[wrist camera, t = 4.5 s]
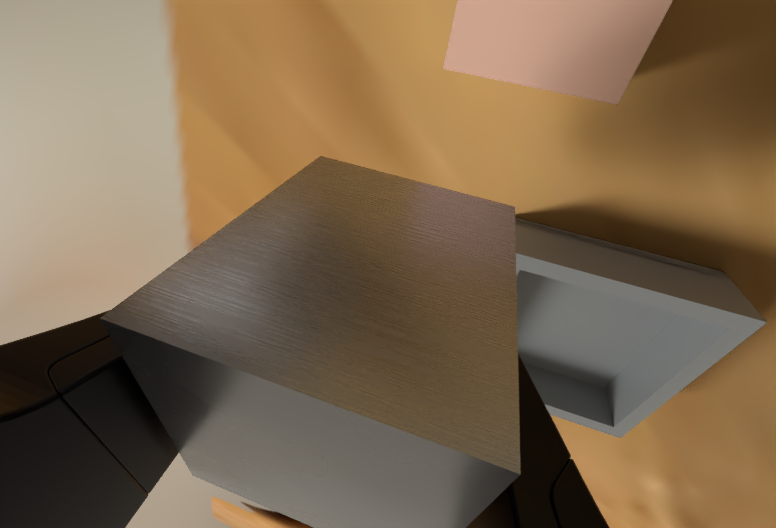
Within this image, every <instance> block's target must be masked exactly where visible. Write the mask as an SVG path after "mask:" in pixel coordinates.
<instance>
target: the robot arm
mask: <svg viewBox="0 0 776 528" xmlns="http://www.w3.org/2000/svg"><path fill="white" fill-rule="evenodd" d="M109 311H110V310H109ZM109 311H106V312H103V313H101V314H98V315H95V316H92V317H89V318H86V319H84V320H81V321H77V322H74V323H71V324H68V325H65V326H62V327H59V328H56V329H52V330H49V331H46V332H43V333H39V334H36V335H33V336H30V337H27V338H23V339H20V340H17V341H13V342H10V343H7V344H4V345H0V528H125V527H126V526H127V524H128V523H129V522H130V520H131V519H132V517H133V516H134V514H135V513H136V512H137V510H138V509H139V508H140V506H141V505H142V503H143V502H144V501H145V499H146V498H147V496H148V493H150V492H151V490H152V489H153V488H154V486H155V485H156V483H157V482H158V481H159V479H160V478H161V477H162V475H163V473H164V472H165V471H166V470H167V468H168V467H169V465H170V464H171V463H172V461H173V460H174V458H175V457H176V456H177V454H178V453H179V451H178V449H177V448H176V446H175V444H174V443H173V441H172V439H171V438H170V436H169V434H168V433H167V431H166V429H165V428H164V426H163V424H162V423H161V421H160V419H159V417H158V416H157V414H156V412H155V411H154V409H153V407H152V406H151V404H150V402H149V401H148V399H147V397H146V396H145V394H144V392H143V390H142V389H141V387H140V385H139V384H138V382H137V380H136V379H135V377H134V375H133V374H132V372H131V370H130V369H129V367H128V365H127V363H126V362H125V360H124V358H123V357H122V355H121V353H120V352H119V350H118V348H117V347H116V345H115V343H114V342H113V340H112V338H111V337H110V335H109V333H108V331H107V330H106V328H105V326H104V325H103V323H102V321H101V320H100V318H101V317H102V316H103V315H105V314H106V313H107V312H109ZM518 377H519V424H520V471H521V475H520V476H519V477H517V478H516V479H515V480H514V481H513V482H512V483H511V484H510V485H509V486H508V487H507V488H506V489H505V490H504V491H503V492H502V493H501V494H500V495H499V496H498V497H497V498H496V499H495V500H494V501H493V502H492V503H491V504H490V505H489V506H487V507H486V508H485V509H484V510H483V511H482V512H481V513H480V514H479V515H478V516H477V517H476V518H475V519H474V520H473V521H472V522H471V523H470V524H469V525H468V526H467V527H466V528H609V526H608V524H607V522H606V521H605V519H604V517H603V516H602V514H601V512H600V510H599V508H598V506H597V505H596V503H595V501H594V499H593V497H592V495H591V493H590V492H589V490H588V488H587V486H586V484H585V482H584V480H583V478H582V476H581V474H580V472H579V470H578V468H577V467H576V465H575V463H574V461H573V460H572V459H570V457H571V455H570V453H569V451H568V449H567V447H566V445H565V443H564V441H563V439H562V437H561V435H560V433H559V431H558V429H557V428H556V426H555V424H554V422H553V420H552V418H551V416H550V414H549V412H548V410H547V408H546V406H545V404H544V402H543V400H542V398H541V396H540V394H539V392H538V390H537V388H536V386H535V384H534V382H533V380H532V378H531V376H530V374H529V372H528V370H527V368H526V366H525V365H524V363H523V361H522V359H521V357H520V355H519V353H518Z"/></svg>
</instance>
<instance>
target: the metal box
mask: <svg viewBox="0 0 776 528" xmlns="http://www.w3.org/2000/svg"><path fill="white" fill-rule="evenodd" d="M100 320H101V321H102V323H103V325H104V326H105V328H106V330H107V331H108V333H109V335H110V337H111V338H112V340H113V342H114V343H115V345H116V347H117V348H118V350H119V352H120V353H121V355H122V357H123V358H124V360H125V362H126V363H127V365H128V367H129V369H130V370H131V372H132V374H133V375H134V377H135V379H136V380H137V382H138V384H139V385H140V387H141V389H142V390H143V392H144V394H145V396H146V397H147V399H148V401H149V402H150V404H151V406H152V407H153V409H154V411H155V412H156V414H157V416H158V417H159V419H160V421H161V423H162V424H163V426H164V428H165V429H166V431H167V433H168V434H169V436H170V438H171V439H172V441H173V443H174V444H175V446H176V448H177V449H178V451H179V453H180V454H181V456H182V458H183V460H184V461H185V463H186V465H187V466H188V468H189V470H190V471H191V473H192V475H193V476H196V477H198V478H200V479H202V480H205V481H207V482H209V483H212V484H214V485H216V486H219V487H221V488H223V489H226V490H228V491H230V492H233V493H235V494H237V495H240V496H242V497H244V498H247V499H249V500H251V501H254V502H256V503H258V504H261V505H263V506H265V507H268V508H270V509H272V510H274V511H277V512H279V513H281V514H284V515H286V516H288V517H291V518H293V519H295V520H298V521H300V522H302V523H305V524H307V525H309V526H312V527H314V528H466V527H467V526H468V525H469V524H470V523H471V522H472V521H473V520H474V519H475V518H476V517H477V516H478V515H479V514H480V513H481V512H482V511H483V510H484V509H485V508H486V507H487V506H489V505H490V504H491V503H492V502H493V501H494V500H495V499H496V498H497V497H498V496H499V495H500V494H501V493H502V492H503V491H504V490H505V489H506V488H507V487H508V486H509V485H510V484H511V483H512V482H513V481H514V480H515V479H516V478H517V477H519V476H520V475H521V471H520V424H519V377H518V329H517V282H516V234H515V207H513V206H509V205H506V204H502V203H498V202H494V201H490V200H487V199H483V198H479V197H475V196H471V195H468V194H464V193H460V192H456V191H452V190H448V189H445V188H441V187H437V186H433V185H429V184H426V183H422V182H418V181H414V180H410V179H407V178H403V177H399V176H395V175H391V174H387V173H384V172H380V171H376V170H372V169H368V168H365V167H361V166H357V165H353V164H349V163H346V162H342V161H338V160H334V159H330V158H326V157H323V156H320V157H319V158H317V159H316V160H315V161H313V162H312V163H310V164H309V165H308V166H306V167H305V168H304V169H302V170H301V171H300V172H298V173H297V174H295V175H294V176H293V177H291V178H290V179H289V180H287V181H286V182H285V183H283V184H282V185H280V186H279V187H278V188H276V189H275V190H274V191H272V192H271V193H270V194H268V195H267V196H265V197H264V198H263V199H261V200H260V201H259V202H257V203H256V204H255V205H253V206H252V207H250V208H249V209H248V210H246V211H245V212H244V213H242V214H241V215H240V216H238V217H237V218H236V219H234V220H233V221H231V222H230V223H229V224H227V225H226V226H225V227H223V228H222V229H221V230H219V231H218V232H216V233H215V234H214V235H212V236H211V237H210V238H208V239H207V240H206V241H204V242H203V243H201V244H200V245H199V246H197V247H196V248H195V249H193V250H192V251H191V252H189V253H188V254H186V255H185V256H184V257H182V258H181V259H180V260H178V261H177V262H176V263H174V264H173V265H171V266H170V267H169V268H167V269H166V270H165V271H163V272H162V273H161V274H159V275H158V276H157V277H155V278H154V279H153V280H151V281H150V282H148V283H147V284H146V285H144V286H143V287H141V288H140V289H139V290H137V291H136V292H135V293H133V294H132V295H131V296H129V297H128V298H127V299H125V300H124V301H122V302H121V303H120V304H118V305H117V306H116V307H114V308H113V309H112V310H110V311H109V312H107V313H106V314H105V315H103V316H102V317H101V318H100Z"/></svg>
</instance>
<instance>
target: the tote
mask: <svg viewBox="0 0 776 528" xmlns="http://www.w3.org/2000/svg"><path fill="white" fill-rule="evenodd" d="M515 234H516V282H517V329H518V353H519V355H520V357H521V359H522V361H523V363H524V365H525V366H526V368H527V370H528V372H529V374H530V376H531V378H532V380H533V382H534V384H535V386H536V388H537V390H538V392H539V394H540V396H541V398H542V400H543V402H544V404H545V406H546V408H547V410H548V412H549V414H550V415H553V416H556V417H559V418H562V419H565V420H568V421H571V422H574V423H577V424H580V425H583V426H586V427H589V428H592V429H595V430H598V431H601V432H604V433H607V434H610V435H613V436H616V437H619V438H621V437H622V436H623V435H625V434H626V433H627V432H628V431H630V430H631V429H632V428H634V427H635V426H636V425H637V424H639V423H640V422H641V421H642V420H644V419H645V418H646V417H648V416H649V415H650V414H651V413H653V412H654V411H655V410H656V409H658V408H659V407H660V406H662V405H663V404H664V403H665V402H667V401H668V400H669V399H670V398H672V397H673V396H674V395H675V394H677V393H678V392H679V391H681V390H682V389H683V388H684V387H686V386H687V385H688V384H689V383H691V382H692V381H693V380H695V379H696V378H697V377H698V376H700V375H701V374H702V373H703V372H705V371H706V370H707V369H709V368H710V367H711V366H712V365H714V364H715V363H716V362H717V361H719V360H720V359H721V358H722V357H724V356H725V355H726V354H728V353H729V352H730V351H731V350H733V349H734V348H735V347H736V346H738V345H739V344H740V343H742V342H743V341H744V340H745V339H747V338H748V337H749V336H750V335H752V334H753V333H754V332H756V331H757V330H758V329H759V328H761V327H762V326H763V325H764V324H766V323H767V321H766V320H765V319H764V318H763V317H762V315H761V314H760V313H759V312H758V311H757V310H756V308H755V307H754V306H753V305H752V304H751V302H750V301H749V300H748V299H747V298H746V297H745V295H744V294H743V293H742V292H741V291H740V289H739V288H738V287H737V286H736V285H735V284H734V282H733V281H732V280H731V279H730V278H729V276H728V275H727V274H726V273H725V272H723V271H719V270H715V269H711V268H707V267H704V266H700V265H696V264H692V263H688V262H684V261H681V260H677V259H673V258H669V257H665V256H661V255H657V254H654V253H650V252H646V251H642V250H638V249H634V248H631V247H627V246H623V245H619V244H615V243H611V242H608V241H604V240H600V239H596V238H592V237H588V236H584V235H581V234H577V233H573V232H569V231H565V230H561V229H558V228H554V227H550V226H546V225H542V224H538V223H534V222H531V221H527V220H523V219H519V218H515Z"/></svg>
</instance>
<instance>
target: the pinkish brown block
mask: <svg viewBox="0 0 776 528" xmlns="http://www.w3.org/2000/svg"><path fill="white" fill-rule="evenodd" d="M672 1H673V0H458V2H457V6H456V11H455V16H454V20H453V25H452V30H451V34H450V39H449V44H448V49H447V53H446V58H445V63H444V67H443V69H446V70H451V71H456V72H461V73H466V74H470V75H475V76H480V77H485V78H490V79H495V80H499V81H504V82H509V83H514V84H519V85H524V86H528V87H533V88H538V89H543V90H548V91H553V92H558V93H562V94H567V95H572V96H577V97H582V98H587V99H591V100H596V101H601V102H606V103H611V104H616V105H618V103H619V101H620V99H621V97H622V95H623V94H624V92H625V90H626V88H627V86H628V84H629V82H630V80H631V78H632V77H633V75H634V73H635V71H636V69H637V67H638V65H639V63H640V62H641V60H642V58H643V56H644V54H645V52H646V50H647V48H648V46H649V45H650V43H651V41H652V39H653V37H654V35H655V33H656V31H657V30H658V28H659V26H660V24H661V22H662V20H663V18H664V16H665V14H666V13H667V11H668V9H669V7H670V5H671V3H672Z"/></svg>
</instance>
